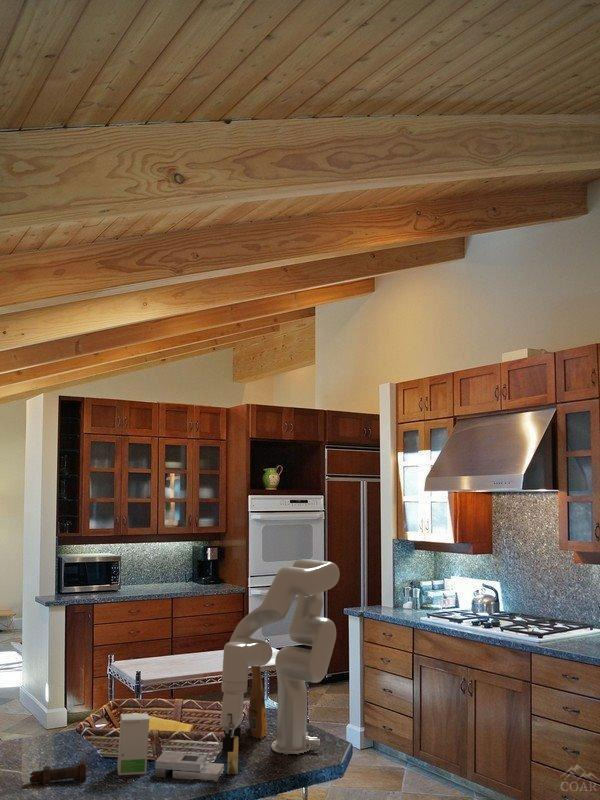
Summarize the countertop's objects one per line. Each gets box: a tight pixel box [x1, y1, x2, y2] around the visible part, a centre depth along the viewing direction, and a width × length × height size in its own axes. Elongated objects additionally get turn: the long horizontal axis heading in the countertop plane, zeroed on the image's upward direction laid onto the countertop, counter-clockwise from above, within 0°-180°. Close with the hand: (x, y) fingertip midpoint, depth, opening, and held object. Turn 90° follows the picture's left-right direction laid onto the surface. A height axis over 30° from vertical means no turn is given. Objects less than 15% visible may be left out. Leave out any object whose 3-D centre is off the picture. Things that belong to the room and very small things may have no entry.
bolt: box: [29, 760, 87, 786], centre depth 226 cm, size 6×5×15 cm
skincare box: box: [116, 712, 150, 776], centre depth 236 cm, size 8×7×16 cm
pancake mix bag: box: [247, 666, 268, 740], centre depth 275 cm, size 7×19×28 cm, turn 9°
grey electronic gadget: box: [154, 751, 225, 782], centre depth 235 cm, size 18×8×4 cm, turn 83°
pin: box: [226, 736, 239, 776], centre depth 236 cm, size 3×3×10 cm
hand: (231, 746), depth 236 cm, fingers open, 9 cm apart
